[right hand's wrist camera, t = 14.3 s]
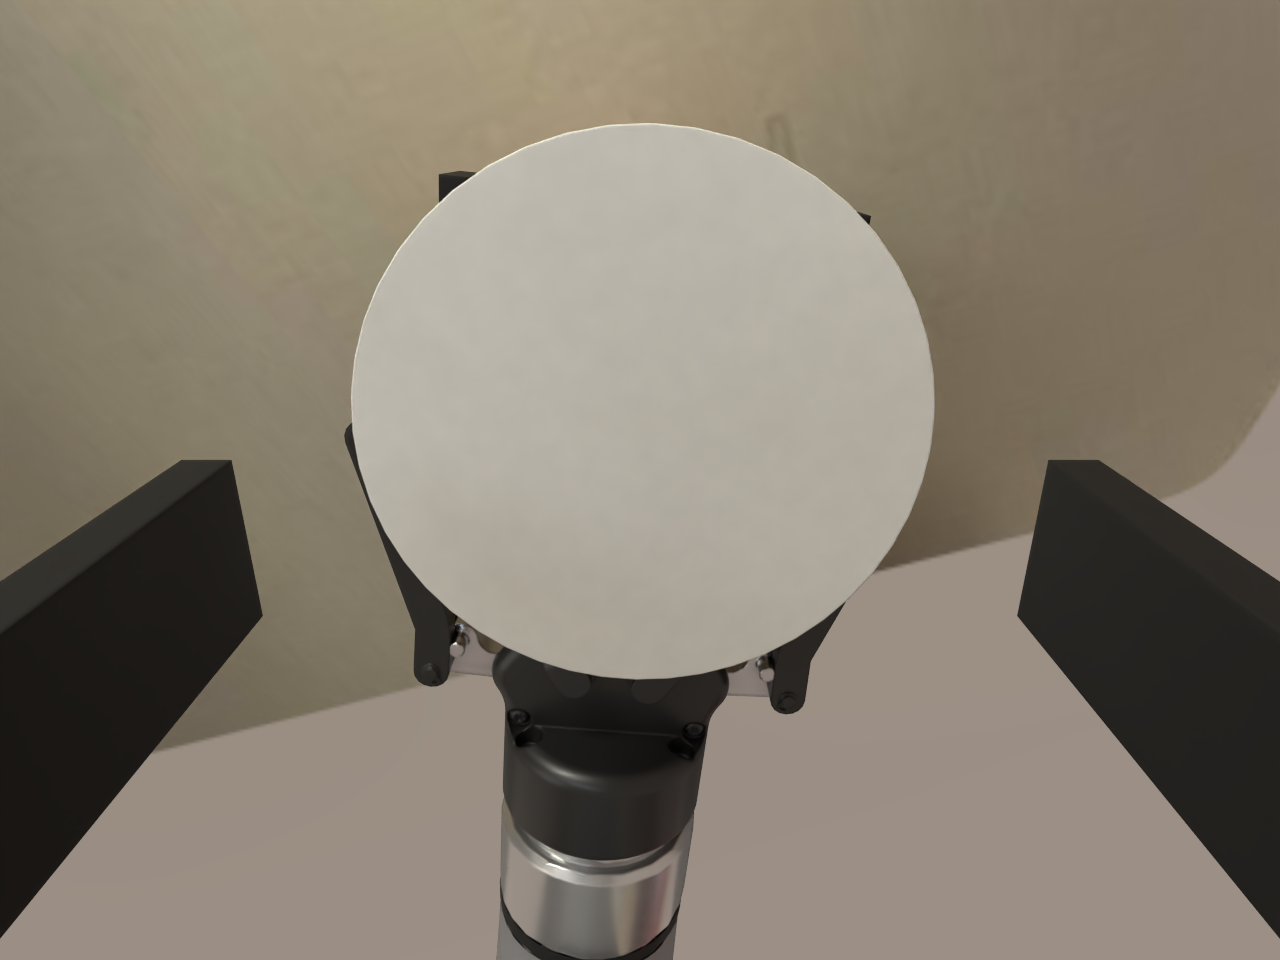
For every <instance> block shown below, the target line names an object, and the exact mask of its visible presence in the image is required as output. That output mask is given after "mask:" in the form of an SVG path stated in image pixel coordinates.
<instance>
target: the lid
mask: <svg viewBox="0 0 1280 960" xmlns="http://www.w3.org/2000/svg"><path fill="white" fill-rule="evenodd" d="M351 407H352V429H353V436H354V442H355V447H356V453H357V458H358V463H359V468H360V471H361V474H362V477H363V480H364V483H365V486H366V489H367V493H368V496H369V499H370V501H371V503H372V506H373V508H374V510H375V512H376V514H377V516H378V518H379V520H380V522H381V524H382V527H383V529H384V531H385V533H386V534H387V536H388V537H389V539H390V540H391V542H392V544H393V545H394V547H395V548H396V550H397V551H398V553H399V554H400V556H401V558H402V559H403V561H404V562H405V563H406V564H407V566H408V567H409V568H410V569H411V570H412V572H413V573H414V574H415V575H416V576H417V578H418V579H419V580H420V581H421V582H422V583H423V585H424V586H425V587H426V588H427V589H428V590H429V591H430V592H431V593H432V594H433V595H434V596H435V597H437V598H438V599H439V600H440V601H441V602H442V603H443V604H444V605H445V606H446V607H447V608H448V609H449V610H450V611H452V612H453V613H454V614H456V615H457V616H458V617H460V618H461V619H462V620H464V621H465V622H467V623H468V624H469V625H471V626H472V627H473V628H475V629H476V630H477V631H479V632H481V633H482V634H484V635H486V636H488V637H489V638H491V639H493V640H495V641H496V642H498V643H500V644H502V645H503V646H505V647H507V648H509V649H511V650H514V651H516V652H518V653H521V654H523V655H525V656H528V657H530V658H532V659H535V660H537V661H540V662H543V663H546V664H550V665H553V666H556V667H559V668H563V669H566V670H569V671H574V672H580V673H585V674H590V675H595V676H601V677H611V678H624V679H666V678H675V677H683V676H690V675H697V674H703V673H707V672H711V671H715V670H719V669H723V668H727V667H731V666H734V665H737V664H740V663H742V662H745V661H748V660H750V659H753V658H756V657H758V656H761V655H764V654H766V653H768V652H770V651H772V650H774V649H776V648H778V647H780V646H782V645H784V644H786V643H788V642H790V641H792V640H794V639H796V638H797V637H799V636H800V635H802V634H803V633H805V632H806V631H808V630H809V629H811V628H812V627H814V626H815V625H817V624H818V623H820V622H821V621H823V620H824V619H825V618H827V617H828V616H829V615H830V614H831V613H832V612H834V611H835V610H836V609H837V608H838V607H840V606H841V605H842V604H843V603H844V602H845V601H847V600H848V599H849V598H850V597H851V596H852V595H853V594H854V593H855V592H856V591H857V589H858V588H859V587H860V586H861V585H862V584H863V583H864V582H865V581H866V580H867V579H868V578H869V577H870V576H871V574H872V573H873V572H874V571H875V569H876V568H877V567H878V565H879V564H880V562H881V561H882V560H883V558H884V557H885V556H886V554H887V553H888V551H889V550H890V549H891V547H892V546H893V544H894V543H895V541H896V539H897V537H898V535H899V533H900V532H901V530H902V528H903V526H904V524H905V523H906V521H907V519H908V517H909V515H910V513H911V510H912V508H913V505H914V503H915V500H916V498H917V495H918V492H919V490H920V487H921V485H922V482H923V478H924V474H925V470H926V466H927V462H928V458H929V454H930V450H931V445H932V435H933V426H934V417H935V392H934V371H933V366H932V360H931V354H930V349H929V343H928V337H927V334H926V331H925V328H924V325H923V322H922V319H921V315H920V312H919V309H918V306H917V303H916V300H915V298H914V296H913V294H912V292H911V290H910V288H909V286H908V284H907V282H906V280H905V278H904V276H903V274H902V272H901V270H900V268H899V266H898V264H897V263H896V261H895V260H894V258H893V257H892V255H891V254H890V253H889V251H888V250H887V248H886V247H885V245H884V244H883V242H882V241H881V240H880V238H879V237H878V235H877V234H876V232H875V231H874V230H873V229H872V228H871V227H870V226H869V225H868V224H867V223H866V221H865V220H864V219H863V218H862V217H861V216H860V215H859V214H858V213H857V212H856V211H855V210H854V209H853V208H852V206H851V205H850V204H849V203H848V202H847V201H845V200H844V199H843V198H842V197H840V196H839V195H838V194H837V193H836V192H834V191H833V190H832V189H831V188H829V187H828V186H827V185H826V184H824V183H823V182H822V181H821V180H819V179H818V178H817V177H816V176H814V175H812V174H811V173H809V172H807V171H806V170H804V169H802V168H801V167H799V166H797V165H795V164H794V163H792V162H790V161H789V160H787V159H785V158H784V157H782V156H780V155H779V154H776V153H774V152H771V151H769V150H766V149H764V148H762V147H759V146H757V145H754V144H752V143H749V142H747V141H744V140H742V139H740V138H736V137H732V136H728V135H724V134H720V133H716V132H712V131H708V130H704V129H700V128H696V127H686V126H677V125H667V124H657V123H642V124H617V125H605V126H600V127H595V128H589V129H584V130H578V131H573V132H568V133H564V134H561V135H558V136H555V137H552V138H549V139H546V140H543V141H540V142H537V143H534V144H532V145H529V146H526V147H523V148H521V149H520V150H518V151H516V152H514V153H512V154H510V155H508V156H506V157H504V158H502V159H500V160H498V161H496V162H494V163H492V164H490V165H488V166H486V167H485V168H483V169H482V170H481V171H479V172H478V173H476V174H475V175H474V176H472V177H471V178H469V179H468V180H466V181H465V182H464V183H462V184H461V185H459V186H458V187H457V188H455V189H454V190H452V191H451V192H450V193H449V194H448V195H447V196H446V197H445V198H444V199H443V200H442V201H441V202H440V203H439V204H438V205H437V206H435V207H434V208H433V209H432V210H431V211H430V212H429V213H428V214H427V215H426V216H425V217H424V218H423V219H422V220H421V221H420V223H419V224H418V225H417V226H416V228H415V229H414V230H413V231H412V233H411V234H410V235H409V237H408V238H407V239H406V240H405V242H404V243H403V244H402V245H401V247H400V248H399V249H398V251H397V252H396V254H395V256H394V257H393V259H392V261H391V263H390V264H389V266H388V268H387V270H386V271H385V273H384V275H383V277H382V278H381V280H380V282H379V283H378V285H377V288H376V290H375V293H374V295H373V298H372V300H371V303H370V305H369V308H368V310H367V313H366V315H365V318H364V320H363V324H362V329H361V333H360V337H359V341H358V345H357V349H356V354H355V358H354V368H353V379H352V389H351Z"/></svg>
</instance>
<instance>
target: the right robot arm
mask: <svg viewBox="0 0 1280 960" xmlns="http://www.w3.org/2000/svg"><path fill="white" fill-rule="evenodd" d="M262 616H263V615H262V610H261V605H260V600H259V595H258V590H257V585H256V580H255V575H254V570H253V565H252V560H251V555H250V550H249V545H248V540H247V535H246V530H245V525H244V520H243V515H242V510H241V505H240V500H239V495H238V490H237V485H236V480H235V475H234V470H233V466H232V461H231V460H181V461H179V462H178V463H176V464H175V465H173V466H172V467H170V468H169V469H167V470H166V471H164V472H163V473H161V474H160V475H158V476H157V477H155V478H154V479H152V480H151V481H149V482H148V483H147V484H145V485H144V486H142V487H141V488H139V489H138V490H136V491H135V492H133V493H132V494H130V495H129V496H127V497H126V498H124V499H123V500H121V501H120V502H118V503H117V504H115V505H114V506H112V507H111V508H109V509H108V510H106V511H105V512H103V513H102V514H100V515H99V516H97V517H96V518H94V519H93V520H91V521H90V522H88V523H87V524H85V525H84V526H82V527H81V528H79V529H78V530H77V531H75V532H74V533H72V534H71V535H69V536H68V537H66V538H65V539H63V540H62V541H60V542H59V543H57V544H56V545H54V546H53V547H51V548H50V549H48V550H47V551H45V552H44V553H42V554H41V555H39V556H38V557H36V558H35V559H33V560H32V561H30V562H29V563H27V564H26V565H24V566H23V567H21V568H20V569H18V570H17V571H15V572H14V573H12V574H11V575H9V576H8V577H6V578H5V579H4V580H2V581H1V582H0V938H1V937H2V936H3V934H4V933H5V932H6V931H7V930H8V928H9V927H10V926H11V925H12V923H13V922H14V921H15V920H16V918H17V917H18V916H19V915H20V914H21V912H22V911H23V910H24V909H25V907H26V906H27V905H28V904H29V902H30V901H31V900H32V899H33V898H34V896H35V895H36V894H37V893H38V891H39V890H40V889H41V888H42V887H43V885H44V884H45V883H46V882H47V880H48V879H49V878H50V877H51V875H52V874H53V873H54V872H55V871H56V869H57V868H58V867H59V866H60V864H61V863H62V862H63V861H64V859H65V858H66V857H67V856H68V855H69V853H70V852H71V851H72V850H73V848H74V847H75V846H76V845H77V843H78V842H79V841H80V840H81V839H82V837H83V836H84V835H85V834H86V832H87V831H88V830H89V829H90V828H91V826H92V825H93V824H94V822H95V821H96V820H97V819H98V818H99V816H100V815H101V814H102V813H103V812H104V810H105V809H106V808H107V807H108V805H109V804H110V803H111V802H112V800H113V799H114V798H115V797H116V795H117V794H118V793H119V792H120V791H121V789H122V788H123V787H124V786H125V784H126V783H127V782H128V781H129V780H130V778H131V777H132V776H133V775H134V773H135V772H136V771H137V770H138V769H139V767H140V766H141V765H142V764H143V762H144V761H145V760H146V759H147V757H148V756H149V755H150V754H151V753H152V751H153V750H154V749H155V748H156V746H157V745H158V744H159V743H160V741H161V740H162V739H163V738H164V737H165V735H166V734H167V733H168V732H169V730H170V729H171V728H172V727H173V726H174V724H175V723H176V722H177V721H178V719H179V718H180V717H181V716H182V714H183V713H184V712H185V711H186V710H187V708H188V707H189V706H190V705H191V703H192V702H193V701H194V700H195V698H196V697H197V696H198V695H199V694H200V692H201V691H202V690H203V689H204V687H205V686H206V685H207V684H208V682H209V681H210V680H211V679H212V678H213V676H214V675H215V674H216V673H217V671H218V670H219V669H220V668H221V667H222V665H223V664H224V663H225V662H226V660H227V659H228V658H229V657H230V655H231V654H232V653H233V652H234V651H235V649H236V648H237V647H238V646H239V644H240V643H241V642H242V641H243V639H244V638H245V637H246V636H247V635H248V633H249V632H250V631H251V630H252V628H253V627H254V626H255V625H256V623H257V622H258V621H259V620H260V619H261V617H262ZM1017 616H1018V617H1019V619H1020V620H1021V621H1022V622H1023V624H1024V625H1025V626H1026V627H1027V628H1028V630H1029V631H1030V632H1031V633H1032V635H1033V636H1034V637H1035V638H1036V639H1037V641H1038V642H1039V643H1040V644H1041V646H1042V647H1043V648H1044V649H1045V651H1046V652H1047V653H1048V654H1049V655H1050V657H1051V658H1052V659H1053V660H1054V662H1055V663H1056V664H1057V665H1058V666H1059V668H1060V669H1061V670H1062V671H1063V673H1064V674H1065V675H1066V676H1067V678H1068V679H1069V680H1070V681H1071V682H1072V684H1073V685H1074V686H1075V687H1076V689H1077V690H1078V691H1079V692H1080V694H1081V695H1082V696H1083V697H1084V698H1085V700H1086V701H1087V702H1088V703H1089V705H1090V706H1091V707H1092V708H1093V709H1094V711H1095V712H1096V713H1097V714H1098V716H1099V717H1100V718H1101V719H1102V721H1103V722H1104V723H1105V724H1106V725H1107V727H1108V728H1109V729H1110V730H1111V732H1112V733H1113V734H1114V735H1115V737H1116V738H1117V739H1118V740H1119V741H1120V743H1121V744H1122V745H1123V746H1124V748H1125V749H1126V750H1127V751H1128V753H1129V754H1130V755H1131V756H1132V757H1133V759H1134V760H1135V761H1136V762H1137V764H1138V765H1139V766H1140V767H1141V768H1142V770H1143V771H1144V772H1145V773H1146V775H1147V776H1148V777H1149V778H1150V780H1151V781H1152V782H1153V783H1154V784H1155V786H1156V787H1157V788H1158V789H1159V791H1160V792H1161V793H1162V794H1163V796H1164V797H1165V798H1166V799H1167V800H1168V802H1169V803H1170V804H1171V805H1172V807H1173V808H1174V809H1175V810H1176V812H1177V813H1178V814H1179V815H1180V816H1181V818H1182V819H1183V820H1184V821H1185V823H1186V824H1187V825H1188V826H1189V828H1190V829H1191V830H1192V831H1193V832H1194V834H1195V835H1196V836H1197V837H1198V839H1199V840H1200V841H1201V842H1202V843H1203V845H1204V846H1205V847H1206V848H1207V850H1208V851H1209V852H1210V853H1211V855H1212V856H1213V857H1214V858H1215V859H1216V861H1217V862H1218V863H1219V864H1220V866H1221V867H1222V868H1223V869H1224V871H1225V872H1226V873H1227V874H1228V875H1229V877H1230V878H1231V879H1232V880H1233V882H1234V883H1235V884H1236V885H1237V887H1238V888H1239V889H1240V890H1241V891H1242V893H1243V894H1244V895H1245V896H1246V898H1247V899H1248V900H1249V901H1250V902H1251V904H1252V905H1253V906H1254V907H1255V909H1256V910H1257V911H1258V912H1259V914H1260V915H1261V916H1262V917H1263V918H1264V920H1265V921H1266V922H1267V923H1268V925H1269V926H1270V927H1271V928H1272V930H1273V931H1274V932H1275V933H1276V934H1277V936H1278V937H1279V938H1280V582H1279V581H1278V580H1276V579H1275V578H1273V577H1272V576H1270V575H1269V574H1268V573H1266V572H1265V571H1263V570H1262V569H1260V568H1259V567H1257V566H1256V565H1254V564H1253V563H1251V562H1250V561H1248V560H1247V559H1245V558H1244V557H1242V556H1241V555H1239V554H1238V553H1236V552H1235V551H1233V550H1232V549H1230V548H1229V547H1227V546H1226V545H1224V544H1223V543H1221V542H1220V541H1218V540H1217V539H1215V538H1214V537H1212V536H1211V535H1209V534H1208V533H1206V532H1205V531H1203V530H1202V529H1201V528H1199V527H1197V526H1196V525H1195V524H1193V523H1192V522H1190V521H1189V520H1187V519H1186V518H1184V517H1183V516H1181V515H1180V514H1178V513H1177V512H1175V511H1174V510H1172V509H1171V508H1169V507H1168V506H1166V505H1165V504H1163V503H1162V502H1160V501H1159V500H1157V499H1156V498H1154V497H1153V496H1151V495H1150V494H1148V493H1147V492H1145V491H1144V490H1142V489H1141V488H1139V487H1138V486H1136V485H1135V484H1133V483H1132V482H1131V481H1129V480H1128V479H1126V478H1125V477H1123V476H1122V475H1120V474H1119V473H1117V472H1116V471H1114V470H1113V469H1111V468H1110V467H1108V466H1107V465H1105V464H1104V463H1102V462H1101V461H1099V460H1049V461H1048V466H1047V470H1046V475H1045V480H1044V485H1043V490H1042V495H1041V500H1040V505H1039V510H1038V515H1037V520H1036V525H1035V530H1034V535H1033V540H1032V545H1031V550H1030V555H1029V560H1028V565H1027V570H1026V575H1025V580H1024V585H1023V590H1022V595H1021V600H1020V605H1019V610H1018V615H1017Z"/></svg>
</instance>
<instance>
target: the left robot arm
mask: <svg viewBox="0 0 1280 960" xmlns="http://www.w3.org/2000/svg"><path fill="white" fill-rule="evenodd" d="M475 174H476V173H474V172H464V171H457V172H451V173H444V174H439V203H440V202H441V201H442V200H443V199H444V198H445V197H446V196H447V195H448V194H449V193H450V192H451V191H452V190H454V189H455V188H457V187H458V186H459V185H461V184H462V183H464V182H465V181H466V180H468V179H469V178H471V177H472V176H474V175H475ZM856 212H857V211H856ZM857 213H858V214H859V215H860V216H861V217H862V218H863V219H864V220H865V221H866V223H867V224H868V225H869V224H870V218H871V216H869V215H866V214H863V213H860V212H857ZM344 436H345V442H346V445H347V448H348V451H349V453H350V456H351V459H352V461H353V464H354V467H355V469H356V472H357V475H358V477H359V480H360V483H361V485H362V488H363V491H364V493H365V496H366V499H367V502H368V504H369V507H370V510H371V512H372V515H373V518H374V520H375V523H376V526H377V528H378V531H379V534H380V536H381V539H382V542H383V544H384V547H385V550H386V552H387V555H388V558H389V560H390V563H391V566H392V568H393V571H394V574H395V576H396V579H397V582H398V584H399V587H400V590H401V593H402V595H403V598H404V601H405V603H406V606H407V609H408V611H409V614H410V617H411V619H412V622H413V625H414V627H415V651H414V674H415V677H416V678H417V680H418V681H419V682H421V683H422V684H424V685H427V686H430V687H431V686H439V685H441V684H443V683H444V682H445V681H446V680H447V678H448V675H449V672H456V673H465V674H473V675H482V676H491V677H493V680H494V682H495V684H496V686H497V687H498V689H499V690H500V692H501V694H502V696H503V699H504V702H505V738H504V769H503V792H504V800H503V804H502V828H501V878H500V897H501V904H500V917H499V931H498V945H497V958H496V960H673V952H674V943H675V934H676V924H677V916H678V912H679V908H680V901H681V896H682V892H683V888H684V882H685V876H686V869H687V863H688V857H689V850H690V844H691V838H692V831H693V819H694V809H695V806H696V802H697V796H698V789H699V783H700V776H701V770H702V763H703V757H704V750H705V744H706V737H707V731H708V725H709V721H710V718H711V716H712V714H713V713H714V711H715V710H716V709H717V708H718V706H719V705H720V704H721V703H722V702H723V701H724V699H725V698H726V696H727V695H732V696H759V697H770V701H771V705H772V707H773V708H774V710H776V711H777V712H779V713H782V714H792V713H794V712H797V711H798V710H800V709H801V708H802V707H803V704H804V702H805V697H806V690H807V683H808V676H809V669H810V662H811V660H812V658H813V656H814V655H815V653H816V651H817V650H818V648H819V646H820V645H821V643H822V641H823V639H824V638H825V636H826V634H827V633H828V631H829V629H830V628H831V626H832V624H833V622H834V621H835V619H836V617H837V616H838V614H839V612H840V611H841V609H842V607H843V606H844V604H845V602H846V601H845V602H844V603H843V604H842V605H841V606H840V607H838V608H837V609H836V610H835V611H834V612H832V613H831V614H830V615H829V616H828V617H827V618H825V619H824V620H823V621H821V622H820V623H818V624H817V625H815V626H814V627H812V628H811V629H809V630H808V631H806V632H805V633H803V634H802V635H800V636H799V637H797V638H796V639H794V640H792V641H790V642H788V643H786V644H784V645H782V646H780V647H778V648H776V649H774V650H772V651H770V652H768V653H766V654H764V655H761V656H758V657H756V658H753V659H750V660H748V661H745V662H742V663H740V664H737V665H734V666H731V667H727V668H723V669H719V670H715V671H711V672H707V673H703V674H697V675H690V676H683V677H675V678H666V679H624V678H611V677H601V676H595V675H590V674H585V673H580V672H574V671H569V670H566V669H563V668H559V667H556V666H553V665H550V664H546V663H543V662H540V661H537V660H535V659H532V658H530V657H528V656H525V655H523V654H521V653H518V652H516V651H514V650H511V649H509V648H507V647H505V646H503V645H502V644H500V643H498V642H496V641H495V640H493V639H491V638H489V637H488V636H486V635H484V634H482V633H481V632H479V631H477V630H476V629H475V628H473V627H472V626H471V625H469V624H468V623H467V622H465V621H464V620H462V619H461V618H460V617H458V616H457V615H456V614H454V613H453V612H452V611H450V610H449V609H448V608H447V607H446V606H445V605H444V604H443V603H442V602H441V601H440V600H439V599H438V598H437V597H435V596H434V595H433V594H432V593H431V592H430V591H429V590H428V589H427V588H426V587H425V586H424V585H423V583H422V582H421V581H420V580H419V579H418V578H417V576H416V575H415V574H414V573H413V572H412V570H411V569H410V568H409V567H408V566H407V564H406V563H405V562H404V561H403V559H402V558H401V556H400V554H399V553H398V551H397V550H396V548H395V547H394V545H393V544H392V542H391V540H390V539H389V537H388V536H387V534H386V533H385V531H384V529H383V527H382V524H381V522H380V520H379V518H378V516H377V514H376V512H375V510H374V508H373V506H372V503H371V501H370V499H369V496H368V493H367V489H366V486H365V483H364V480H363V477H362V474H361V471H360V468H359V463H358V458H357V453H356V447H355V442H354V436H353V429H352V423H351V424H350V425H349V426H348V427H347V429H346V432H345V435H344Z"/></svg>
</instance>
